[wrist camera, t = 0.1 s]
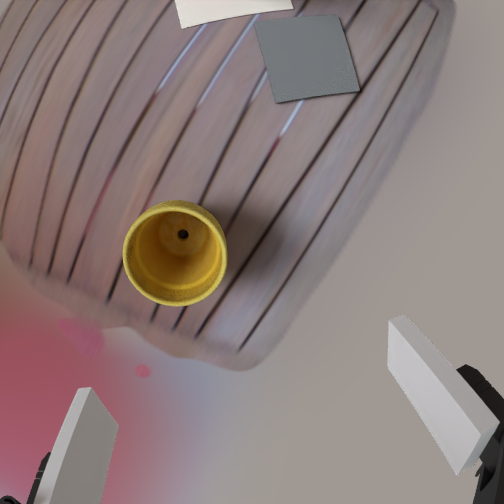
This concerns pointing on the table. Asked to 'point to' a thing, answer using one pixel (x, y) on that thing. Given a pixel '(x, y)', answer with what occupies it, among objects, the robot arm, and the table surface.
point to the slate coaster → (306, 57)
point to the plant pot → (175, 253)
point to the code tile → (224, 9)
